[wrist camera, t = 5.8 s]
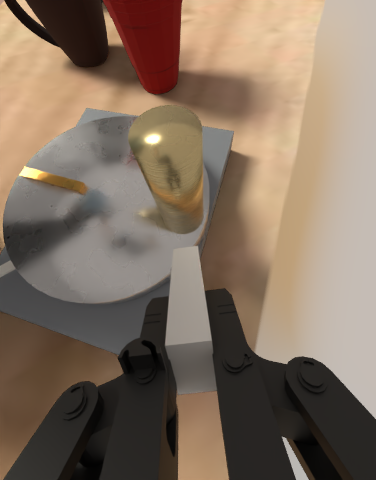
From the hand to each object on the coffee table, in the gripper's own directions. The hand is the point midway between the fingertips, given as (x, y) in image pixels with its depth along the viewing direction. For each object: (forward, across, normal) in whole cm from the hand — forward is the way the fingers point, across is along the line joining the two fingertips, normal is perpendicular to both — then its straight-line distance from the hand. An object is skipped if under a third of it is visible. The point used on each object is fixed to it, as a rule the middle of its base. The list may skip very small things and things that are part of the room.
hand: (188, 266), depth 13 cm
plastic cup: (+30, -2, +16) cm, 34 cm away
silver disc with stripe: (+11, -7, +2) cm, 13 cm away
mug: (+37, -15, +23) cm, 46 cm away
